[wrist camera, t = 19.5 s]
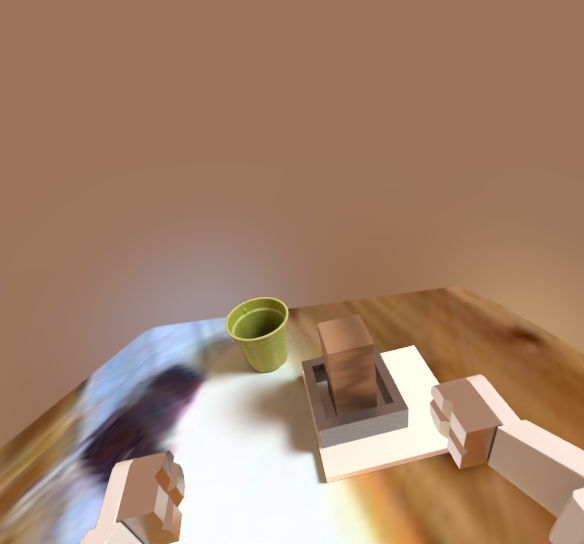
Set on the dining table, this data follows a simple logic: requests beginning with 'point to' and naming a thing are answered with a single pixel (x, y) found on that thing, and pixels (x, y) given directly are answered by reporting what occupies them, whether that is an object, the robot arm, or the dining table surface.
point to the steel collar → (360, 421)
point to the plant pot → (260, 332)
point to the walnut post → (349, 364)
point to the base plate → (396, 444)
